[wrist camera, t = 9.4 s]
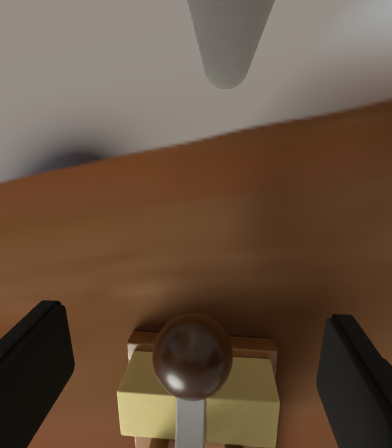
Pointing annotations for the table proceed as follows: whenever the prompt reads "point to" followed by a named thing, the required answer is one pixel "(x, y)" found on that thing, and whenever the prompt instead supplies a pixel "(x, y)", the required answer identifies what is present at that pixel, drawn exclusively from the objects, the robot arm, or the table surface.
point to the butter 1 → (145, 401)
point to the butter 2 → (245, 406)
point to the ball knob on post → (192, 370)
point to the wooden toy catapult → (240, 348)
